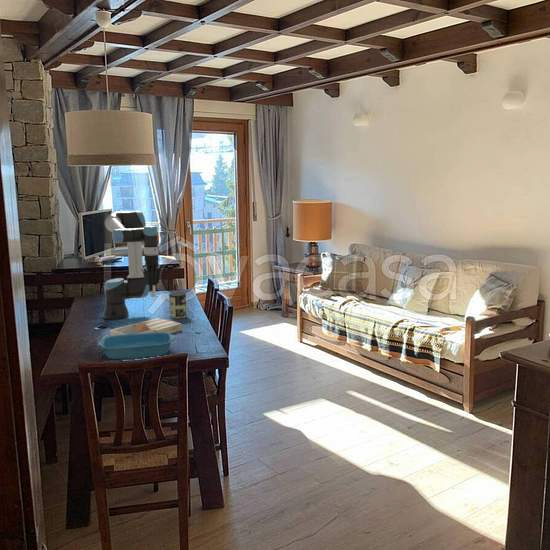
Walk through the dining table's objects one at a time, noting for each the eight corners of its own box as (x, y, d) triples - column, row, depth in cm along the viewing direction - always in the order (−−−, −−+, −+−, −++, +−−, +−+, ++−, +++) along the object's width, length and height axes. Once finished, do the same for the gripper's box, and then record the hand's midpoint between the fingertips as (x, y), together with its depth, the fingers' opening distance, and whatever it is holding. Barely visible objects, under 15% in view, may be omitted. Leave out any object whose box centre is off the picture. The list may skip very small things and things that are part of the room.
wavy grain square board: (133, 331, 315) (132, 324, 314) (158, 324, 329) (157, 318, 328) (156, 337, 303) (156, 330, 302) (181, 330, 317) (181, 323, 316)
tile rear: (134, 334, 307) (131, 330, 305) (141, 325, 310) (138, 322, 308) (141, 336, 303) (138, 332, 302) (148, 327, 306) (145, 324, 305)
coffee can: (189, 314, 353) (188, 292, 350) (183, 318, 343) (182, 296, 340) (173, 314, 355) (172, 292, 352) (167, 317, 345) (166, 295, 342)
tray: (109, 338, 302) (108, 330, 301) (133, 331, 314) (133, 324, 313) (130, 344, 291) (129, 335, 290) (154, 337, 303) (154, 329, 302)
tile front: (130, 329, 304) (131, 335, 305) (121, 332, 300) (122, 337, 300) (138, 331, 301) (138, 337, 301) (128, 334, 296) (129, 339, 297)
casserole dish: (96, 363, 262) (95, 348, 261) (100, 349, 283) (99, 335, 282) (177, 357, 270) (176, 342, 269) (174, 344, 292) (174, 330, 290)
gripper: (146, 256, 299) (148, 299, 304) (165, 253, 310) (166, 295, 314) (137, 255, 304) (139, 297, 308) (156, 252, 314) (157, 293, 319)
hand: (153, 296), depth 311 cm, fingers closed
